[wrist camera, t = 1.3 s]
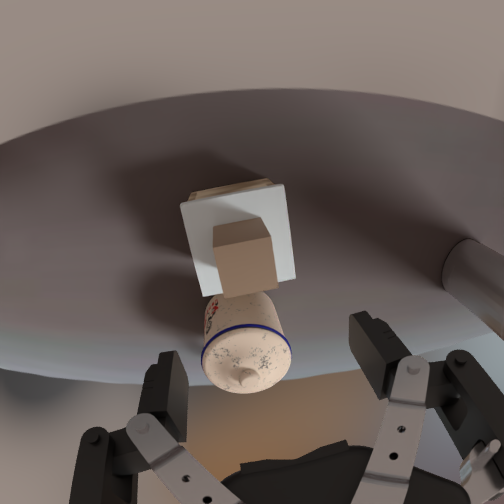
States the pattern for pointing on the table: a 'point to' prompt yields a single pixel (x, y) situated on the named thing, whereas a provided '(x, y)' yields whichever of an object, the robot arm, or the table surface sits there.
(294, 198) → the table surface
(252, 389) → the teacup with lid
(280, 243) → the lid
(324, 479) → the robot arm
